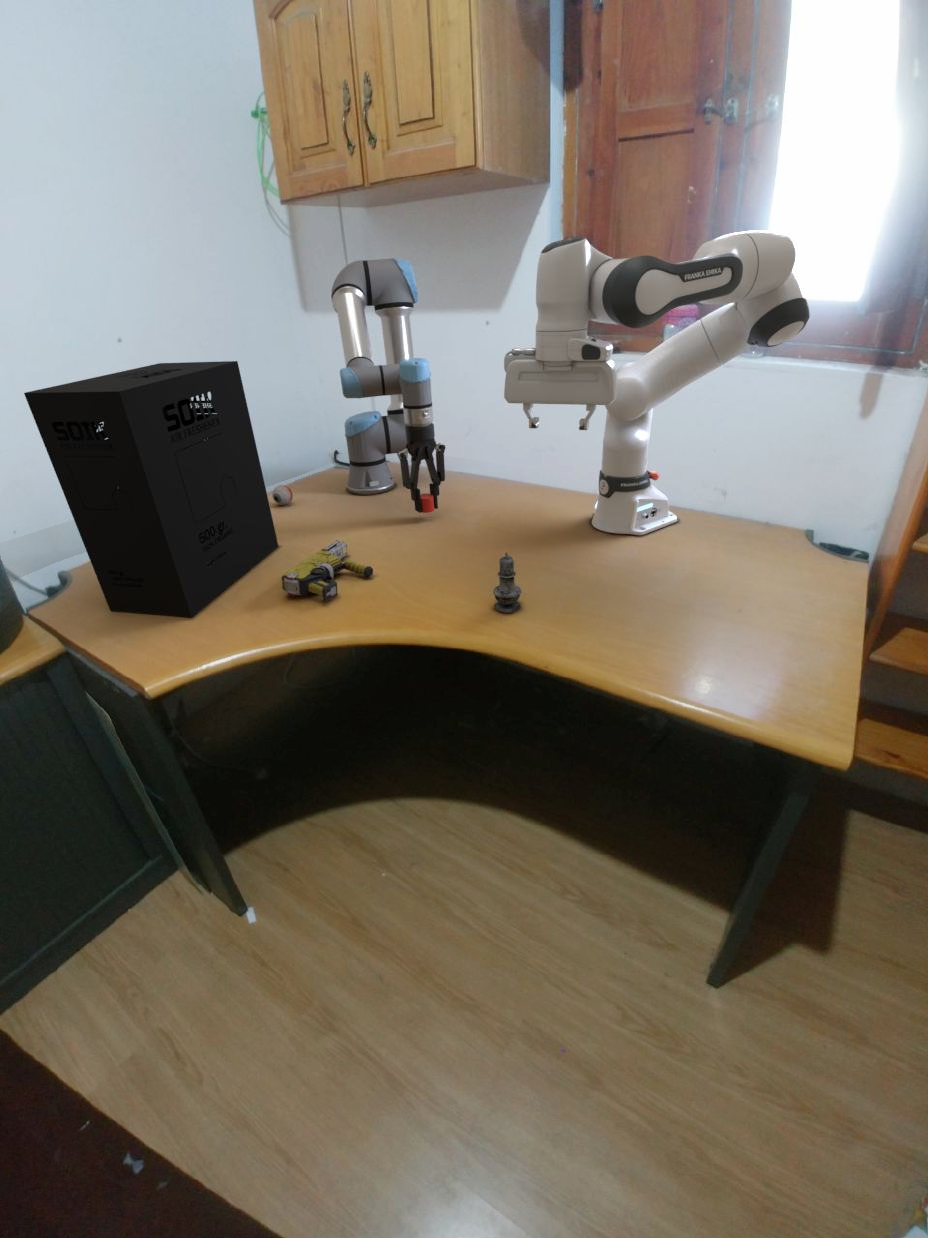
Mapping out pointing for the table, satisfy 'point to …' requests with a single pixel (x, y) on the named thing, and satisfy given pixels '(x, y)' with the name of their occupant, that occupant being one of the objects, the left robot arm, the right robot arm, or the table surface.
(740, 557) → the table surface
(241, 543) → the cardboard box
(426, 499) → the can
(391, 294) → the left robot arm
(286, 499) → the eyeball
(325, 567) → the toy gun
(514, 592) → the dark grey tapered piece
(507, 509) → the table surface
